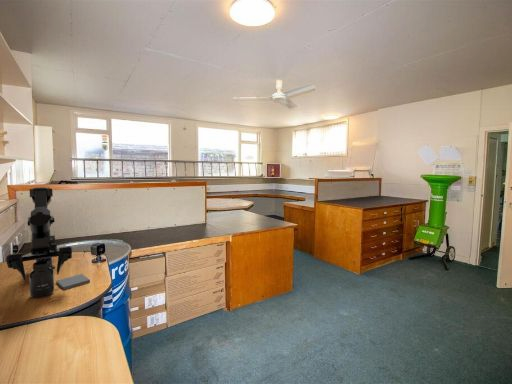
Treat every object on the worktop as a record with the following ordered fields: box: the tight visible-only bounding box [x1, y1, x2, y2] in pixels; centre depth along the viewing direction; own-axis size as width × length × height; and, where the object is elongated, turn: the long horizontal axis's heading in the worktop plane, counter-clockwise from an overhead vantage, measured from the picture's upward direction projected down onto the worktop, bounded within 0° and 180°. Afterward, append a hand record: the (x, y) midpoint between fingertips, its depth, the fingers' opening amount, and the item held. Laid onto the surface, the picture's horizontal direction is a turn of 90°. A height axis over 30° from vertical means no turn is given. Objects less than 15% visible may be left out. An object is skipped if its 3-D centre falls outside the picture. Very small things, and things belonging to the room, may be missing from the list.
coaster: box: [55, 273, 91, 290], centre depth 105 cm, size 9×9×1 cm
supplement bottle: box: [29, 261, 55, 299], centre depth 94 cm, size 7×7×12 cm
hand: (41, 277), depth 93 cm, fingers open, 9 cm apart
